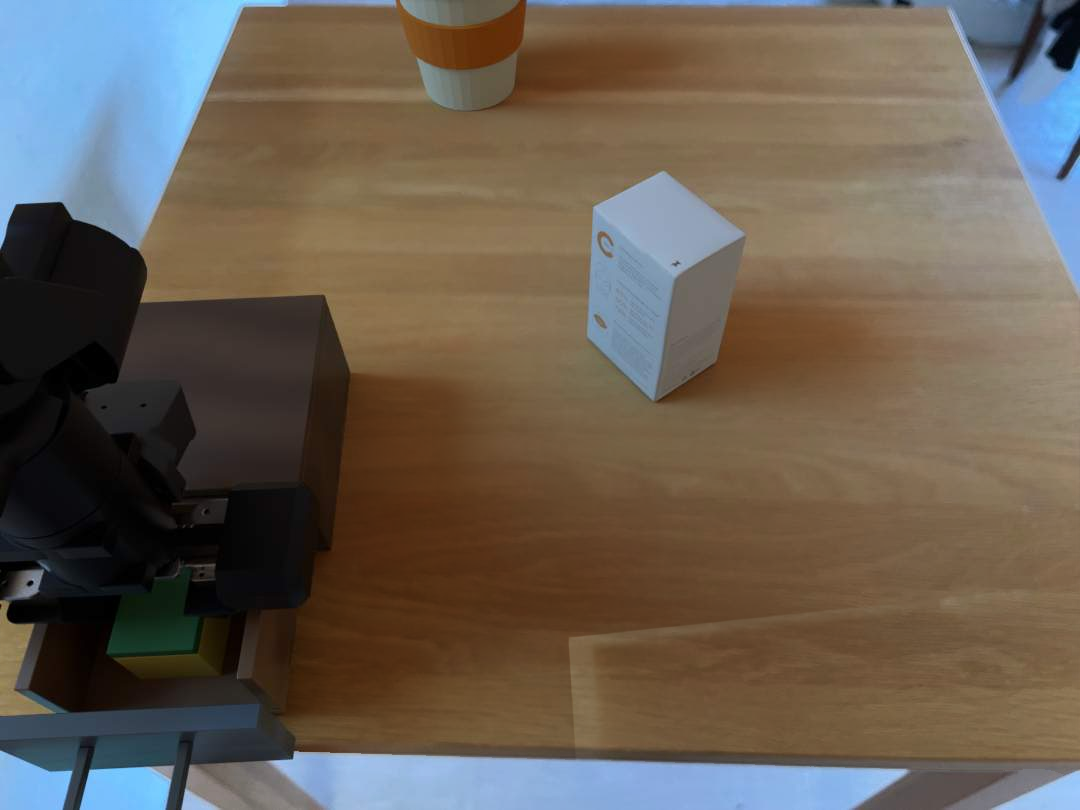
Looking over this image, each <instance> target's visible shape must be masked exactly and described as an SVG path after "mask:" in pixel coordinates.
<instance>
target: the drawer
mask: <svg viewBox="0 0 1080 810" xmlns="http://www.w3.org/2000/svg"><path fill="white" fill-rule="evenodd" d="M228 498H229V495H213V496H191V497H183V499H182V502H181V503H172V506H171V512H172V513H184V512H191V511H193V509H194V508H195V507H196V505H198V504H199V503H200V502H202V501H204V500H212V499H228ZM195 528H196V527H195ZM298 613H299V608H294V609H273V610H252V611H244V610H241V611H240V612H238V613H236V614H232V615H231V621H230V626H229V632H228V638H227V644H226V649H225V655H224V661H223V666H222V672H221V675H220V676H201V677H181V678H161V679H140V678H138V677H137V676H136V675H134V674H133V673H132V672H130V671H129V670H128V669H126V668H125V667H124V666H122V665H121V664H119V663H118V662H117V661H115V660H114V659H113V658H112V657H110V656H109V655H108V654H107V649H108V645H109V641H110V637H111V634H112V630H113V626H114V623H63V624H33V627H32V629H31V632H30V636H29V640H28V643H27V646H26V648H25V652H24V655H23V657H22V658H23V659H22V661H21V664H20V667H19V668H20V669H19V671H18V674H17V677H16V681H15V684H14V687H13V691H15V692H17V693H19V694H20V695H22V696H24V697H26V698H27V699H29V700H31V701H33V702H35V703H37V704H39V705H40V706H42V707H43V708H46V709H47V710H49V711H51V712H53V713H36V714H35V713H34V714H33V713H31V714H18V715H17V714H16V715H15V714H14V715H0V751H1V752H3V753H5V754H8V755H9V756H12V757H15V758H17V759H19V760H21V761H23V762H26V763H29V764H30V765H34V766H36V767H38V768H40V769H42V770H44V771H47V772H50V773H53V772H55V773H56V772H71V775H70V778H69V782H68V787H67V790H66V794H65V798H64V802H63V806H62V809H61V810H81V806H82V803H83V798H84V794H85V790H86V786H87V782H88V778H89V774H90V771H92V770H93V771H94V770H112V769H113V770H114V769H116V770H117V769H133V768H155V767H172V766H173V769H172V774H171V778H170V783H169V789H168V794H167V798H166V799H167V800H166V805H165V810H182V809H183V804H184V799H185V794H186V793H185V792H186V787H187V782H188V777H189V772H190V766H191V765H192V766H193V765H195V766H196V765H211V764H212V765H213V764H214V765H215V764H235V763H251V762H272V761H274V762H275V761H291V760H294V755H295V748H296V740H297V737H296V735H294V734H293V733H292V732H291V731H290V730H289V729H288V728H287V727H286V726H285V725H284V724H283V723H282V722H281V721H280V720H279V719H278V718H277V717H276V716H274V714H275V713H285V712H286V706H287V698H288V691H289V684H290V683H289V682H290V675H291V668H292V659H293V652H294V645H295V635H296V629H297V619H298ZM273 713H274V714H273Z"/></svg>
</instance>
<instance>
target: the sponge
mask: <svg viewBox="0 0 1080 810" xmlns="http://www.w3.org/2000/svg"><path fill="white" fill-rule="evenodd" d="M166 563H167V561H166ZM174 563H175V561H174ZM182 564H184V561H182ZM190 577H191V572H188V571H187V570H186V569H185V568H184V566H183V567H182V571H181V575H180V577H178V578H177V579H170V580H154V583H153V587H152V591H151V593H146V594H125V595H121V599H120V603H119V606H118V610H117V614H116V618H115V622H114V626H113V630H112V634H111V637H110V641H109V645H108V649H107V654H108V655H109V656H110V657H112V658H113V659H114V660H115V661H117V662H118V663H119V664H121V665H122V666H124V667H125V668H126V669H128V670H129V671H130V672H132V673H133V674H134V675H136V676H137V677H138V678H140V679H161V678H181V677H201V676H220V675H221V672H222V666H223V661H224V655H225V649H226V644H227V638H228V632H229V626H230V621H231V615H232V614H229V617H228V618H205V617H186V616H183V610H184V605H185V600H186V596H187V591H188V586H189V581H190Z"/></svg>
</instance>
